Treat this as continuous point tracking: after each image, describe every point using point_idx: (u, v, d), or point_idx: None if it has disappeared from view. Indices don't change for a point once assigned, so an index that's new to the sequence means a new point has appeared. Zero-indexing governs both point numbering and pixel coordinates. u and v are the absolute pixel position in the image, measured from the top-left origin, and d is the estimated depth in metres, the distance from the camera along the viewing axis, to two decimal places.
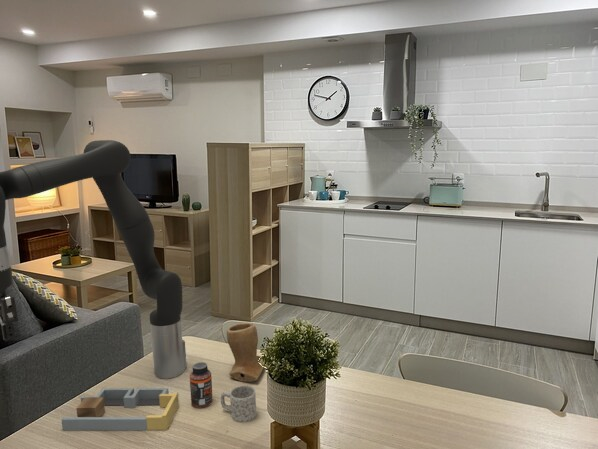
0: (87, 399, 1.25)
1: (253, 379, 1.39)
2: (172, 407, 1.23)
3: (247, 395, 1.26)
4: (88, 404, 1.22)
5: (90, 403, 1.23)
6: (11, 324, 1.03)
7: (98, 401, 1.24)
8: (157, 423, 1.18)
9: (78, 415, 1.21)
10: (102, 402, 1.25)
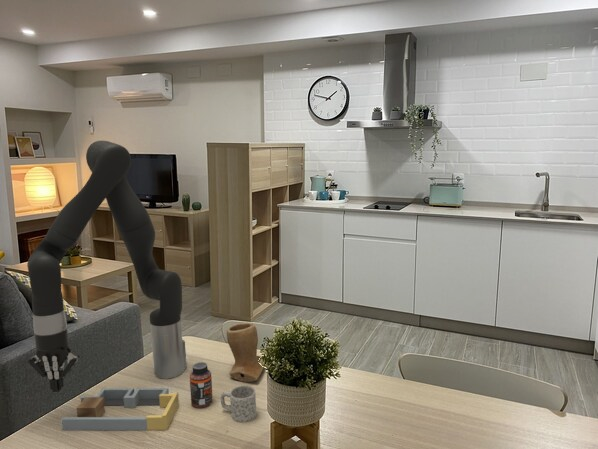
0: (87, 399, 1.25)
1: (253, 379, 1.39)
2: (172, 407, 1.23)
3: (247, 395, 1.26)
4: (88, 404, 1.22)
5: (90, 403, 1.23)
6: None
7: (98, 401, 1.24)
8: (157, 423, 1.18)
9: (78, 415, 1.21)
10: (102, 402, 1.25)
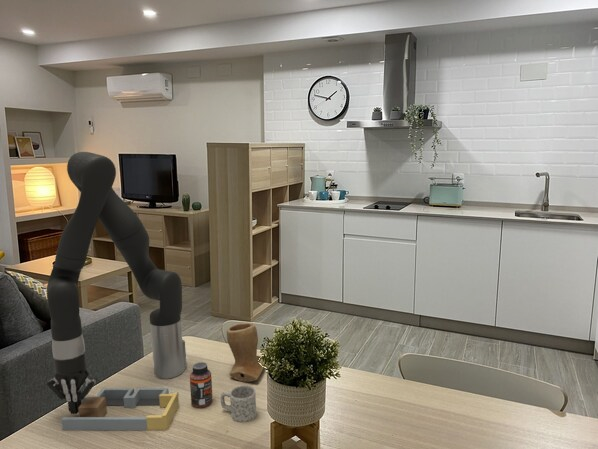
0: (89, 399, 1.25)
1: (253, 379, 1.39)
2: (172, 407, 1.23)
3: (247, 395, 1.26)
4: (90, 404, 1.22)
5: (92, 403, 1.23)
6: None
7: (100, 401, 1.24)
8: (157, 423, 1.18)
9: (80, 415, 1.21)
10: (104, 402, 1.25)
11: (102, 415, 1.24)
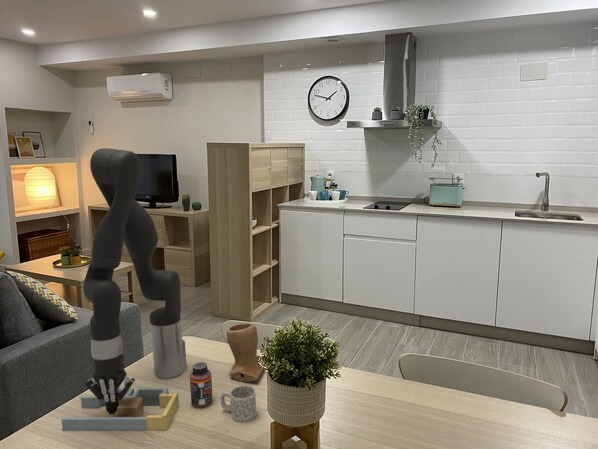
0: (126, 399, 1.24)
1: (253, 379, 1.39)
2: (172, 407, 1.23)
3: (247, 395, 1.26)
4: (128, 405, 1.22)
5: (130, 403, 1.22)
6: None
7: (137, 401, 1.23)
8: (157, 423, 1.18)
9: (119, 415, 1.21)
10: (141, 402, 1.24)
11: (140, 415, 1.23)
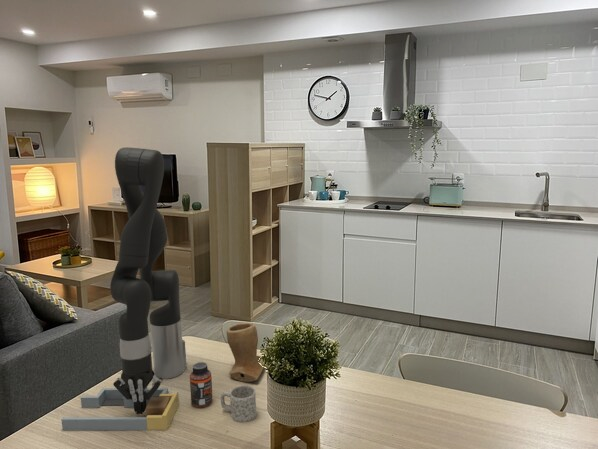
0: (153, 399, 1.24)
1: (253, 379, 1.39)
2: (172, 407, 1.23)
3: (247, 395, 1.26)
4: (157, 404, 1.21)
5: (158, 403, 1.22)
6: None
7: (165, 401, 1.23)
8: (157, 423, 1.18)
9: (147, 415, 1.20)
10: None
11: None
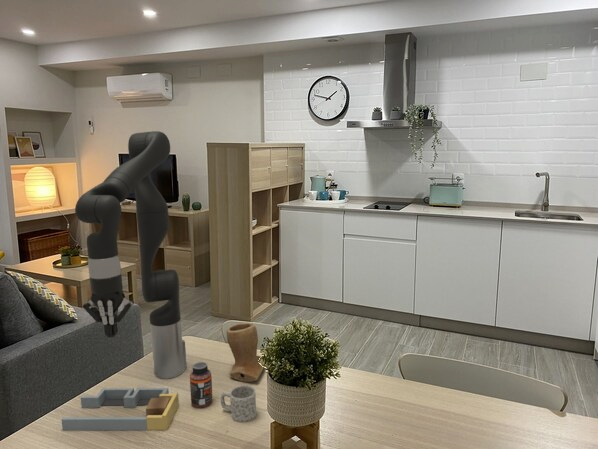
0: (154, 400, 1.24)
1: (253, 379, 1.39)
2: (172, 407, 1.23)
3: (247, 395, 1.26)
4: (157, 405, 1.22)
5: (158, 403, 1.22)
6: None
7: (166, 401, 1.23)
8: (157, 423, 1.18)
9: None
10: None
11: None
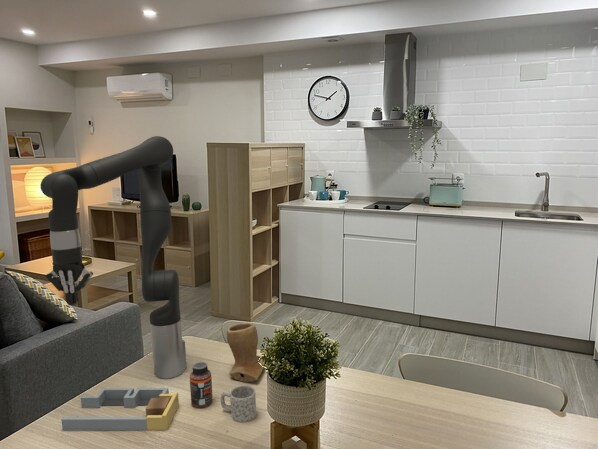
0: (154, 400, 1.24)
1: (253, 379, 1.39)
2: (172, 407, 1.23)
3: (247, 395, 1.26)
4: (157, 405, 1.22)
5: (158, 403, 1.22)
6: None
7: (166, 401, 1.23)
8: (157, 423, 1.18)
9: None
10: None
11: None
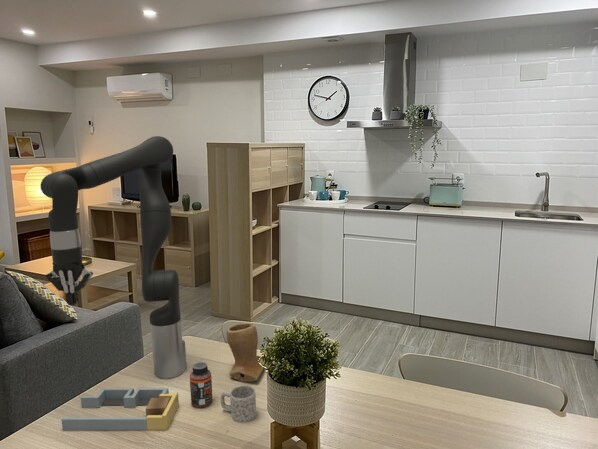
0: (154, 400, 1.24)
1: (253, 379, 1.39)
2: (172, 407, 1.23)
3: (247, 395, 1.26)
4: (157, 405, 1.22)
5: (158, 403, 1.22)
6: None
7: (166, 401, 1.23)
8: (157, 423, 1.18)
9: None
10: None
11: None
